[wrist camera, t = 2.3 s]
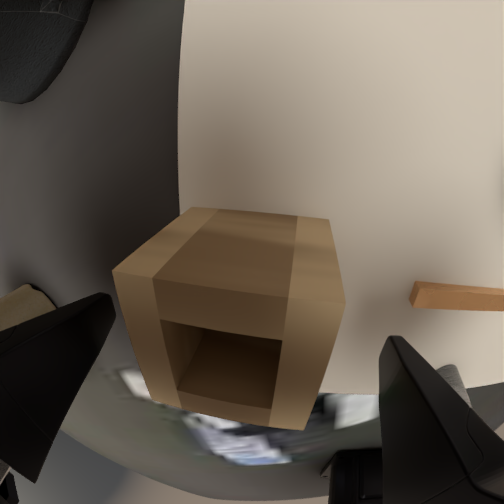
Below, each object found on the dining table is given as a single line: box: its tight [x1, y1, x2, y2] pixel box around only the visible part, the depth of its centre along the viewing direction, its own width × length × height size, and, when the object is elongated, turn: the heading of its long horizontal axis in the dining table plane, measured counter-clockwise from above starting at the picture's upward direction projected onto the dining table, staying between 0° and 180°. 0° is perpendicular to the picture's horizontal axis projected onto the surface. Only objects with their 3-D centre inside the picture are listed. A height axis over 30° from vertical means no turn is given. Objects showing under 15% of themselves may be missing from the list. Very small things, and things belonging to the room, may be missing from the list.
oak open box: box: [112, 207, 346, 430], centre depth 9 cm, size 5×5×5 cm
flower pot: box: [0, 284, 56, 331], centre depth 13 cm, size 9×9×9 cm
